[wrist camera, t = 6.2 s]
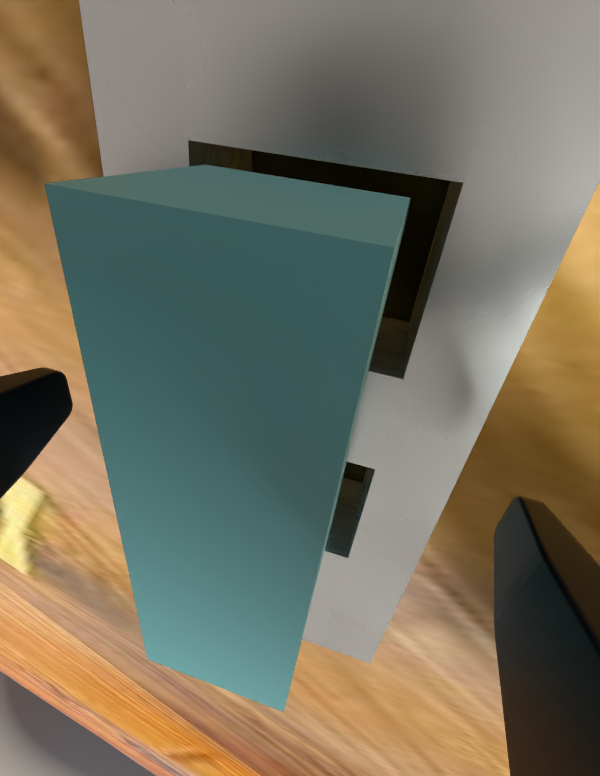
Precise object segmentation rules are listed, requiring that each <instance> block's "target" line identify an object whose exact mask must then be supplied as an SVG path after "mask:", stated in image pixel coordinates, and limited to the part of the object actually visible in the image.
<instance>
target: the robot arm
mask: <svg viewBox="0 0 600 776" xmlns="http://www.w3.org/2000/svg"><path fill="white" fill-rule="evenodd" d="M72 406H73V404H72V399H71V395H70V391H69V387H68V383H67V379H66V376H65V375H64V374H63V373H62V372H60V371H57V370H53V369H49V368H37V369H32V370H28V371H23V372H19V373H14V374H10V375H5V376H0V498H1V497H2V496H3V495H4V494H5V493H6V492H7V491H8V490H9V489H10V488H11V487H12V486H13V485H14V484H15V482H16V481H17V480H18V479H19V478H20V477H21V476H22V475H23V474H24V472H25V471H26V470H27V469H28V468H29V466H30V465H31V464H32V463H33V461H34V460H35V459H36V458H37V456H38V455H39V454H40V452H41V451H42V450H43V449H44V447H45V446H46V445H47V443H48V442H49V441H50V440H51V438H52V437H53V436H54V434H55V433H56V432H57V431H58V429H59V428H60V427H61V425H62V424H63V423H64V422H65V420H66V419H67V418H68V417H69V415H70V413H71V411H72ZM494 629H495V641H496V650H497V659H498V668H499V677H500V686H501V695H502V704H503V713H504V722H505V731H506V741H507V750H508V759H509V768H510V776H600V566H599V564H598V563H597V562H596V561H595V560H594V559H593V558H592V557H591V555H590V554H589V553H588V552H587V551H586V550H585V549H584V548H583V546H582V545H581V544H580V543H579V542H578V541H577V540H576V539H575V537H574V536H573V535H572V534H571V533H570V532H569V531H568V530H567V529H566V527H565V526H564V525H563V524H562V523H561V522H560V521H559V520H558V518H557V517H556V516H555V515H554V514H553V513H552V512H551V511H550V509H549V508H548V507H547V506H546V505H545V504H544V503H542V502H540V501H537V500H533V499H529V498H525V497H522V496H518V497H515V498H514V499H513V500H512V502H511V503H510V505H509V506H508V508H507V510H506V511H505V513H504V515H503V516H502V518H501V520H500V521H499V523H498V525H497V527H496V530H495V535H494Z"/></svg>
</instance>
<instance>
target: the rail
mask: <svg viewBox="0 0 600 776" xmlns="http://www.w3.org/2000/svg"><path fill="white" fill-rule="evenodd" d="M79 5H80V13H81V20H82V27H83V34H84V41H85V48H86V55H87V62H88V69H89V77H90V84H91V91H92V98H93V105H94V112H95V119H96V126H97V134H98V141H99V148H100V155H101V162H102V169H103V176H113V175H121V174H130V173H138V172H147V171H155V170H163V169H172V168H180V167H189V166H197V165H211V166H218V167H224V168H230V169H236V170H242V171H248V172H252V150H255V151H261V152H268V153H274V154H281V155H287V156H294V157H300V158H307V159H313V160H319V161H326V162H332V163H339V164H345V165H352V166H358V167H365V168H371V169H378V170H384V171H391V172H397V173H404V174H410V175H417V176H423V177H429V178H436V179H442V180H449V181H450V184H449V187H448V191H447V194H446V198H445V201H444V204H443V208H442V211H441V215H440V218H439V222H438V225H437V229H436V232H435V235H434V239H433V242H432V246H431V249H430V253H429V256H428V260H427V263H426V266H425V270H424V273H423V277H422V280H421V284H420V287H419V291H418V294H417V297H416V301H415V304H414V308H413V311H412V315H411V318H410V322H407V321H402V320H397V319H392V318H388V317H383V316H382V320H381V323H380V327H379V331H378V335H377V339H376V342H375V346H374V350H373V354H372V357H371V361H370V366H369V370H368V374H367V378H366V382H365V386H364V390H363V394H362V398H361V402H360V407H359V411H358V415H357V419H356V423H355V427H354V431H353V435H352V439H351V443H350V448H349V452H348V456H347V460H346V461H347V462H350V463H354V464H358V465H361V466H365V467H367V470H366V473H365V477H364V480H363V483H361V482H358V481H354V480H351V479H347V478H344V477H343V480H342V484H341V488H340V492H339V495H338V499H337V503H336V507H335V511H334V515H333V519H332V523H331V527H330V531H329V535H328V539H327V543H326V547H325V551H324V555H323V558H322V562H321V566H320V570H319V575H318V579H317V583H316V586H315V590H314V594H313V598H312V602H311V606H310V610H309V614H308V618H307V622H306V626H305V630H304V634H303V638H302V639H303V640H306V641H309V642H311V643H314V644H317V645H320V646H323V647H326V648H328V649H331V650H334V651H337V652H340V653H342V654H345V655H348V656H351V657H354V658H357V659H359V660H362V661H365V662H368V663H370V662H371V660H372V658H373V656H374V654H375V652H376V650H377V648H378V645H379V643H380V641H381V639H382V637H383V635H384V633H385V631H386V629H387V627H388V624H389V622H390V620H391V618H392V616H393V614H394V612H395V610H396V608H397V606H398V603H399V601H400V599H401V597H402V595H403V593H404V591H405V589H406V587H407V585H408V582H409V580H410V578H411V576H412V574H413V572H414V570H415V568H416V566H417V564H418V561H419V559H420V557H421V555H422V553H423V551H424V549H425V547H426V545H427V543H428V540H429V538H430V536H431V534H432V532H433V530H434V528H435V526H436V524H437V522H438V519H439V517H440V515H441V513H442V511H443V509H444V507H445V505H446V503H447V501H448V498H449V496H450V494H451V492H452V490H453V488H454V486H455V484H456V482H457V480H458V477H459V475H460V473H461V471H462V469H463V467H464V465H465V463H466V461H467V458H468V456H469V454H470V452H471V450H472V448H473V446H474V444H475V442H476V440H477V437H478V435H479V433H480V431H481V429H482V427H483V425H484V423H485V421H486V419H487V416H488V414H489V412H490V410H491V408H492V406H493V404H494V402H495V400H496V398H497V395H498V393H499V391H500V389H501V387H502V385H503V383H504V381H505V379H506V377H507V374H508V372H509V370H510V368H511V366H512V364H513V362H514V360H515V358H516V356H517V353H518V351H519V349H520V347H521V345H522V343H523V341H524V339H525V337H526V335H527V332H528V330H529V328H530V326H531V324H532V322H533V320H534V318H535V316H536V314H537V311H538V309H539V307H540V305H541V303H542V301H543V299H544V297H545V295H546V293H547V290H548V288H549V286H550V284H551V282H552V280H553V278H554V276H555V274H556V271H557V269H558V267H559V265H560V263H561V261H562V259H563V257H564V255H565V253H566V250H567V248H568V246H569V244H570V242H571V240H572V238H573V236H574V234H575V232H576V229H577V227H578V225H579V223H580V221H581V219H582V217H583V215H584V213H585V211H586V208H587V206H588V204H589V202H590V200H591V198H592V196H593V194H594V192H595V190H596V187H597V185H598V183H599V181H600V0H79Z"/></svg>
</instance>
